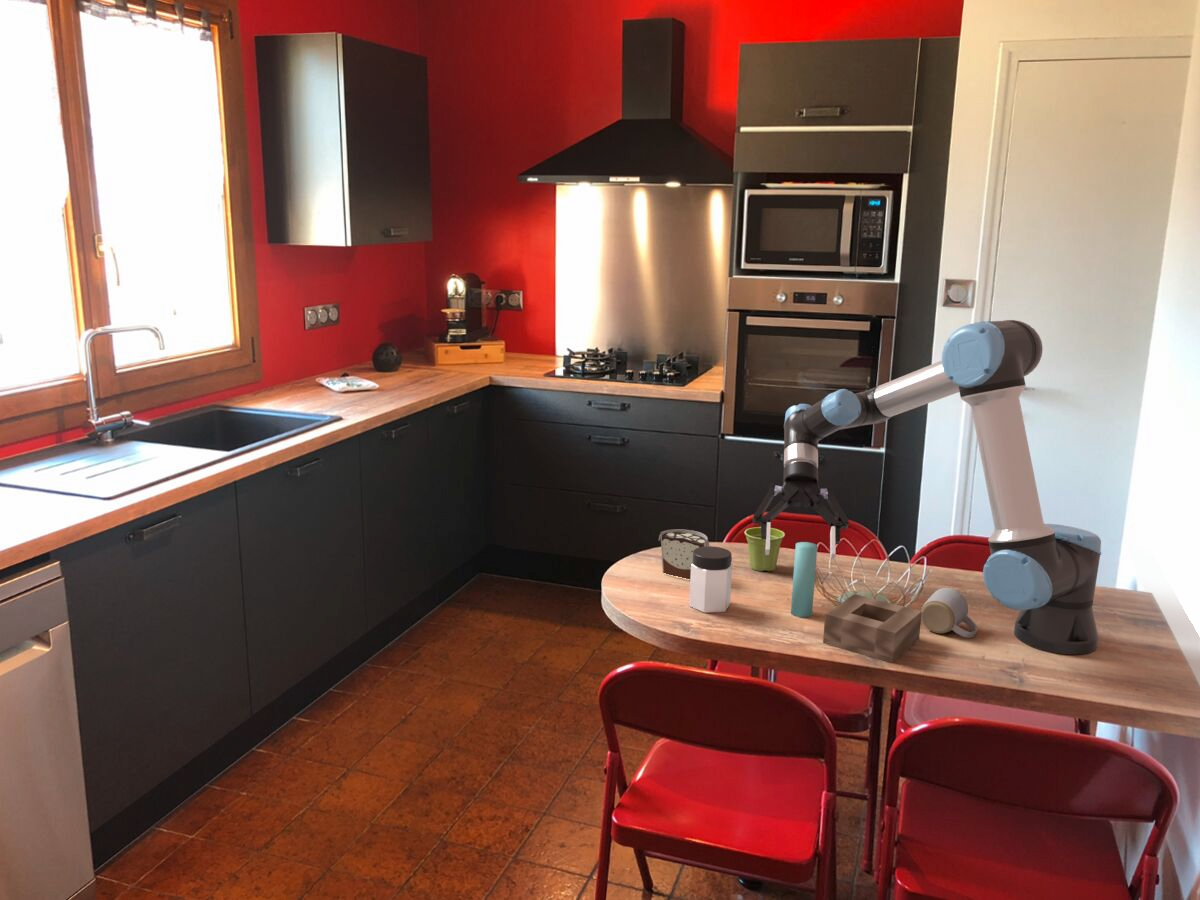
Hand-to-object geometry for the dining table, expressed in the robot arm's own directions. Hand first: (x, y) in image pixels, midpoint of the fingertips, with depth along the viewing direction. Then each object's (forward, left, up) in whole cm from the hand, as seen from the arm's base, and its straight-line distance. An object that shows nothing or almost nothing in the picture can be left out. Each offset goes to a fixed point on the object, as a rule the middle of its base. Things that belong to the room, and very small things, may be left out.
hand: (800, 554), depth 209 cm
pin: (-3, +3, -12) cm, 12 cm away
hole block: (-20, +7, -11) cm, 24 cm away
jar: (+14, +12, -12) cm, 22 cm away
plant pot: (+17, -17, -12) cm, 27 cm away
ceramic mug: (-30, -9, -12) cm, 33 cm away
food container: (+28, -1, -12) cm, 31 cm away
